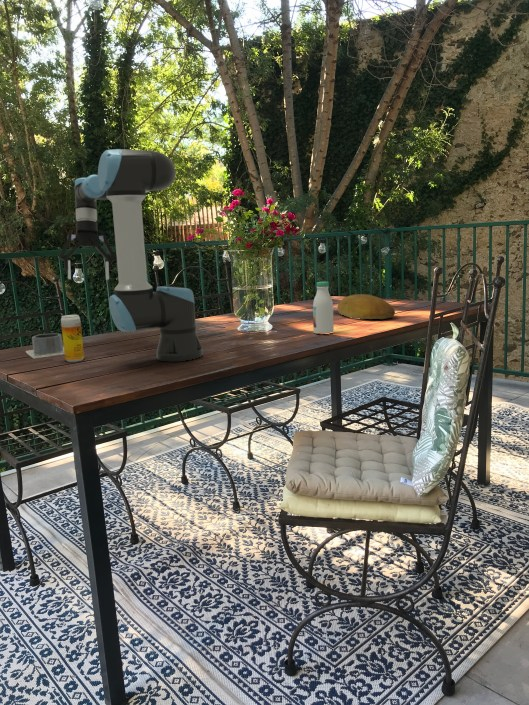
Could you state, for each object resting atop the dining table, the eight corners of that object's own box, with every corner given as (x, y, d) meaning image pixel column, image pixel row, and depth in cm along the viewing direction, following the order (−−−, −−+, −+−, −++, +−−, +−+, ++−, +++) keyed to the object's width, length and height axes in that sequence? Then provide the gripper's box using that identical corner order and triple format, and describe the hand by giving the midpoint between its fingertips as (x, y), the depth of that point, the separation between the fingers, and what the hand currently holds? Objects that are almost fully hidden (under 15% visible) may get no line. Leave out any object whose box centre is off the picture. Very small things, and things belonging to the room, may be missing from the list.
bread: (358, 310, 284) (358, 290, 282) (403, 319, 253) (403, 296, 251) (326, 314, 277) (325, 293, 275) (368, 323, 245) (368, 299, 243)
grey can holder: (71, 353, 206) (70, 335, 204) (33, 358, 199) (31, 340, 197) (62, 348, 216) (60, 331, 215) (26, 352, 210) (23, 335, 208)
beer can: (78, 362, 189) (73, 317, 186) (61, 362, 191) (56, 317, 188) (87, 358, 195) (83, 314, 192) (71, 358, 197) (66, 314, 194)
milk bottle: (336, 332, 225) (336, 281, 221) (328, 335, 219) (327, 282, 215) (319, 331, 229) (318, 280, 225) (310, 334, 223) (308, 282, 219)
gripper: (119, 225, 223) (121, 280, 223) (50, 222, 213) (52, 279, 213) (122, 221, 216) (124, 278, 216) (51, 217, 206) (53, 277, 206)
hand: (88, 279), depth 215 cm, fingers open, 13 cm apart
